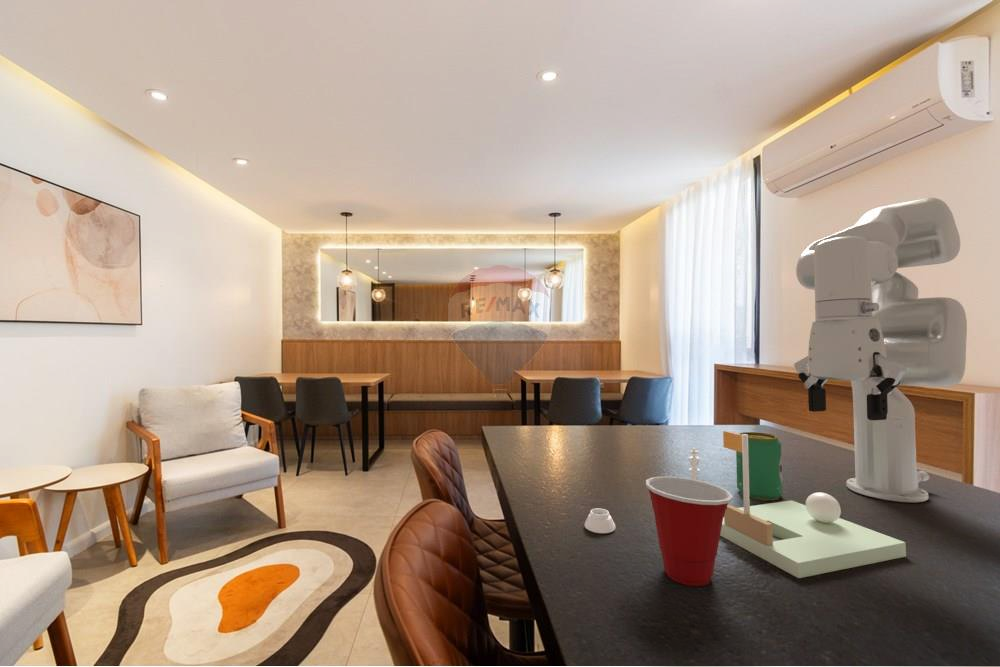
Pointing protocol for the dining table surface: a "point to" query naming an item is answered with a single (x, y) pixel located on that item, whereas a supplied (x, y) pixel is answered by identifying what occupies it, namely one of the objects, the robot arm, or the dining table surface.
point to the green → (800, 532)
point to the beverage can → (762, 466)
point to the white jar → (599, 521)
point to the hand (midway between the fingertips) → (845, 415)
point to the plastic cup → (688, 526)
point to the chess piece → (694, 464)
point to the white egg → (823, 507)
